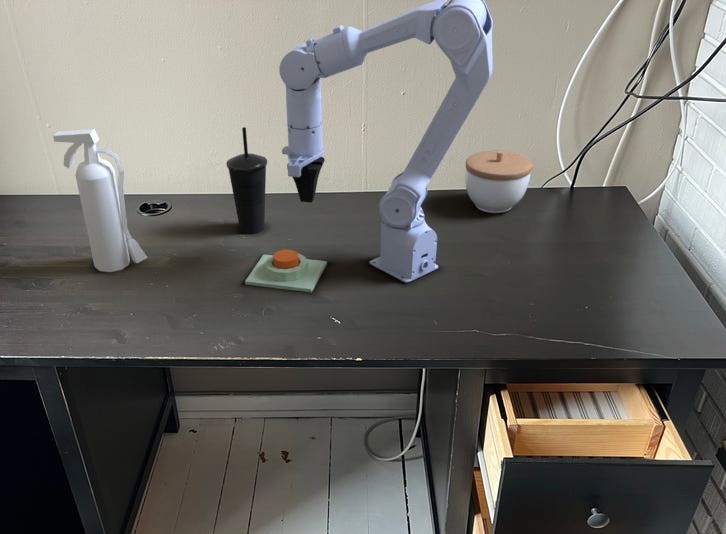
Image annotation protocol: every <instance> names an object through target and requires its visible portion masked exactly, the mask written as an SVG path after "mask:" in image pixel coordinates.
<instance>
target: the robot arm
mask: <svg viewBox="0 0 726 534" xmlns="http://www.w3.org/2000/svg"><path fill="white" fill-rule="evenodd" d="M447 2H448V0H433V1H431V2H428V3H425V4H421V5H419V6H417V7H415V8H412V9H410V10H407V11H406V12H403V13H401V14H399V15H396V16H394V17H392V18H390V19H387V20H385V21H383V22H380V23H378V24H376V25H373V26H371V27H368V28H367V29H365V30H360V29H358V28H356V27H354V26H350V25H349V26H347V27H344V25H343V24H340V25H338V26H336V27H334V28H333V29H332V33H330V34H327V35H325V36H322V37H319V38H318V39H315V38H314V37H311V38H309V39H307V40H306V41H305V43H301V44H298V45H297V46H296V47H295V48H293V49H292V50H290V51H289V52H288V53H286V54H285V56H283V58H282V59H281V61H280V64H279V67H278V68H279V69H278V70H279V77H280V78H281V81H282V82H283V83H284V85H285V103H286V105H285V106H286V125H287V144H288V145H287V146H284V147H283V148H282V149H281V153H282V155H287V160H288V163H287V164H286V167H287V168H286V169H287V177H290V178H292V179H293V182H294V184H295V187H296V191H297V193H298V198H299V200H300V202H301V203H313V201H314V199H315V196H316V191H317V185H318V182H319V181H318V180H319V176H320V173H321V170H322V168H323V165H324V163H325V160H326V159H325V157H324V156H323V155H324V153H325V152H324V150H325V149H324V145H323V115H322V113H323V112H322V111H323V109H322V108H323V107H322V91H321V90H322V87H321V85H322V84H321V83H322V82H321V79H327V78H329V77H333V76H335V75H337V74H340V73H343V72H346V71H348V70H351V69H354V68H357V67H359V66H361V65H363V64H364V63H365V60H366V57H367V55H368V54H369V53H373V52H375V51H378V50H381V49H384V48H387V47H390V46H393V45H396V44H398V43H403V42H405V41H408V40H412V39H417V40H419V41H421V42H423V43H425V44H427V45H431V44H432V43H433V42H434V41H435V43H436V44H437V46H438V48H439V49H440V50H441V51H442V53H443V54H444V55H445V56H446V57H447V59H448V60H449V61H450V65H451V67H452V70H453V72H454V76H455V78H454V80H453V82H452V84H451V85H450V87H449V89H448V91H447V93H446V94H445V96H444V98H443V99H442V102H441V103H440V106H439V107H438V109H437V111H436V113H435V114H434V116H433V118H432V119H431V122H430V124H429V125H428V127H427V129H426V130H425V132H424V134H423V136H422V138H421V140H420V142H419V143H418V145H417V147H416V149H415V150H414V152H413V154H412V156H411V157H410V160H409V161H408V163H407V165H406V167H405V168H404V169H403V171H402V172H400V173H399V174H397V175H396V176H395V177H394V178H393V180H392V182H391V185H390V187H389V188H388V190H387V191H386V193H385V194H384V195H383V196H382V198H381V199H380V201H379V203H378V214H379V216H380V219H381V221H380V225H381V226H380V252H379V253H380V254H379V256H378V257H376V258H374V259H371V260H369V265H371V266H372V267H374V268H376V269H378V270H380V271H382V272H384V273H386V274H387V275H390V276H392V277H393V278H395V279H396V280H399V281H401V282H403V283H405V284H408V283H411V282H413V281H415V280H417V279H418V278H422V277H423V276H425V275H427V274H429V273H432V272H434V271H436V270H437V269H439V265H438V264H436V259H437V249H438V236H437V233H436V231H435V230H434V229H433V228H431V227H430V226H429V225H428V224H427V223H426V220H425V214H424V211H423V209H422V206H421V205H422V204H423V202H424V201H425V200H426V198H427V195H428V186H429V183H430V182H431V180H432V178H433V176H434V174H435V173H436V171H437V169H438V168H439V167H440V165H441V163H442V162H443V159H444V157H445V156H446V154H447V152H448V151H449V149H450V148H451V145H452V144H453V142H454V140H455V139H456V137H457V135H458V134H459V132H460V130H461V128H462V127H463V126H464V123H465V122H466V120H467V118H468V117H469V116H470V113H471V112H472V110H473V108H474V106H475V105H476V103H477V101H478V99H479V98H480V96H481V94H482V93H483V91H484V89H485V87H486V86H487V84H488V83H489V81H490V78H491V77H492V73H493V71H494V70H493V69H494V63H493V62H494V61H493V26H494V21H493V18H492V16H491V13H490V11H489V8H488V6H487V3H486V2H485V0H450V1H449V2H448V3H447ZM446 3H447V4H446Z"/></svg>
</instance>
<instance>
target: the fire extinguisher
mask: <svg viewBox="0 0 726 534" xmlns="http://www.w3.org/2000/svg"><path fill="white" fill-rule="evenodd" d="M52 138H53V142H54V143H55V142H56V143H70V144H72V145H70V146H69V147H68V149H67V150H66V152H65V154H64V155H63V166H64V167H65V168H67V169H70V168H72V167H73V166H74V161H75V155H76V153H77V151H78V150H79V148H80V147H81V146H82V145H83V153H84V157H83V158H84V160H83V161H82V162H80V163H78V164H77V168H76V171H75V174H74V175H75V180H76V185H77V189H78V190H77V191H78V195H79V200H80V204H81V209H82V214H83V219H84V223H85V228H86V233H87V238H88V242H89V243H88V244H89V247H90V252H91V256H92V262H93V267H94V268H95V269H96V270H98V271H99V272H104V273H105V272H106V273H113V272H118V271H122V270H124V269H125V268H126V267H128V266H129V265H130V261H131V260H132V261H133V262H134V263H135V264H138V263H141V262H142V261H144V260H146V259H149V258H148V257H149V256H148V255H146V253H145V252H144V249H142V247H141V246H140V244H139V242H138V241H137V239H134V238H133V237H132V235H131V233H130V230H129V229H128V221H127V212H126V202H125V201H126V200H125V192H124V180H125V179H124V178H125V170H124V166H123V164H122V161H121V158H120V155H119V154H117V153H115V152H114V151H112V150H111V149H109V148H107V147H102V146H101V147H100V146H99V147H98V146H97V145H96V144H97V142H99V141H100V137H99V136H98V133H97V131H96V129H95V128H87V129H73V130H72V129H71V130H58V131H57V132H56V133H55V134H53V136H52ZM100 154H106V155H108V156H109V157H111V158H113V159H114V160H115V164H116V167H117V171H118V172H117V173H118V175H117V177H118V178H116V170H115V168H114V166H113V165H112V164H111V162H110V161H108V160H106V159H103V158H101V156H100ZM130 257H131V259H130Z"/></svg>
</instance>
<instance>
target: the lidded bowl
mask: <svg viewBox="0 0 726 534" xmlns="http://www.w3.org/2000/svg"><path fill="white" fill-rule="evenodd" d="M533 166H534V164H533V161H532V160H531V159H530V158H529V156H526V155H524V154H521V153H519V152H515V151H510V150H498V149H497V150H484V151H479V152H476V153H473V154H470V155H469V156H467V158H466V160H465V176H464V178H465V179H464V180H465V182H464V183H465V190H466V192H467V196H468V198H469V199H470V200H471V202H472V203H473V204H474V205H475V207H476V209H478V210H480V211H482V212H486V213H491V214H500V213H506V212H508V211H510V210H511V209H513V207H515V205H517V204H518V203H519V202H520V201H521V200H522V199H523V197H524V196H525V194H526V193H527V190H528V188H529V184H530V180H531V175H532V171H533Z"/></svg>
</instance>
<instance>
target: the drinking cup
mask: <svg viewBox="0 0 726 534" xmlns="http://www.w3.org/2000/svg"><path fill="white" fill-rule="evenodd" d="M241 130H242V142H243V143H242V144H243V153H241V154H238V155H235V156H233V157H231V158H229V159H228V160H226V163H225V164H226V168H227V169H228V173H229V179H230V184H231V190H232V195H233V200H234V204H235V210H236V216H237V220H238V227H239V231H240V232H241V233H243V234H246V235H256V234H259V233H261V232H263V231H264V230H265V223H266V221H265V220H266V219H265V218H266V217H265V216H266V180H267V177H266V176H267V174H266V173H267V166H268V159H267V158H266V157H265V156H263V155H260V154H255V153H249V149H248V137H247V127H245V126H243V127H242V128H241Z"/></svg>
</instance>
